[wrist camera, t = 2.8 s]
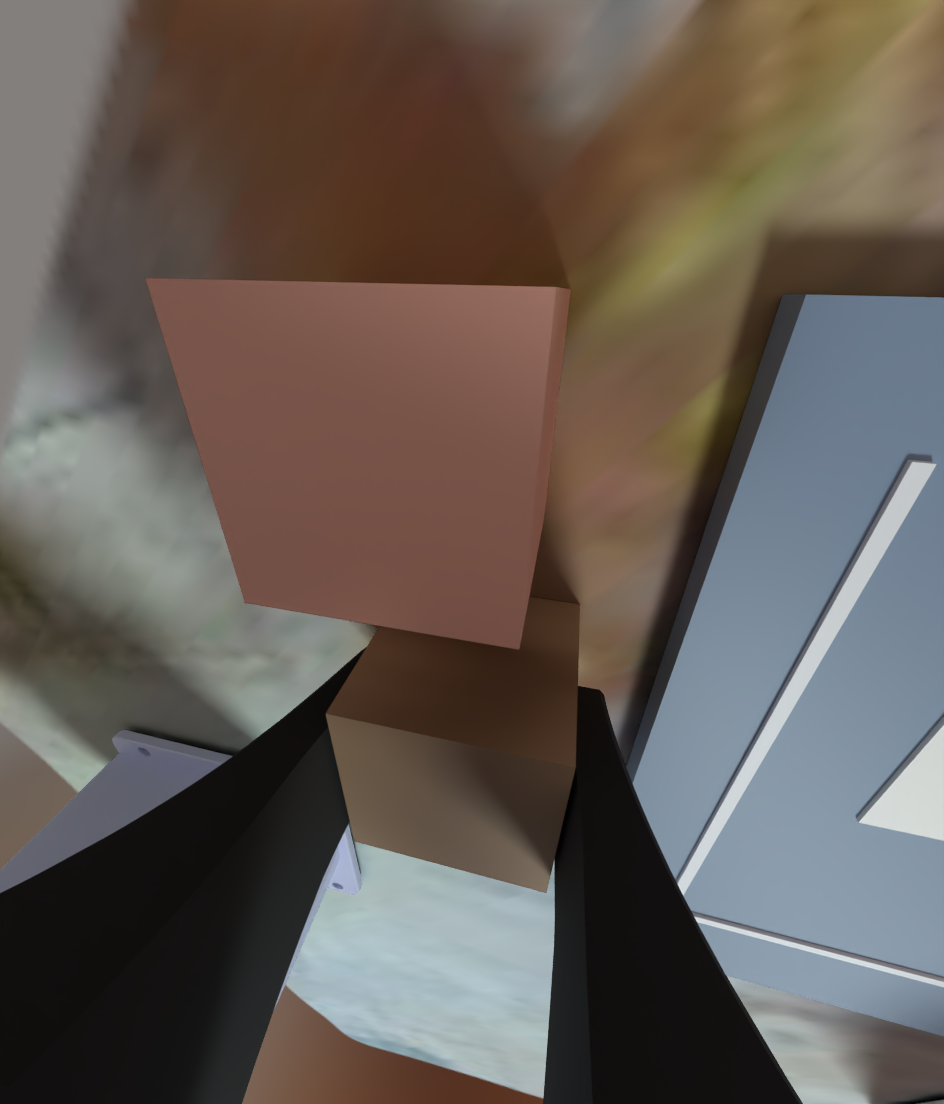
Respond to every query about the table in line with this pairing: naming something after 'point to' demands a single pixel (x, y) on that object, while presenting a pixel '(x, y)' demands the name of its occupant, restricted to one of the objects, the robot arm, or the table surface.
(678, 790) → the board
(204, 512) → the table surface
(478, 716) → the walnut block
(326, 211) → the table surface
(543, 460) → the brick red block
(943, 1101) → the skincare box
